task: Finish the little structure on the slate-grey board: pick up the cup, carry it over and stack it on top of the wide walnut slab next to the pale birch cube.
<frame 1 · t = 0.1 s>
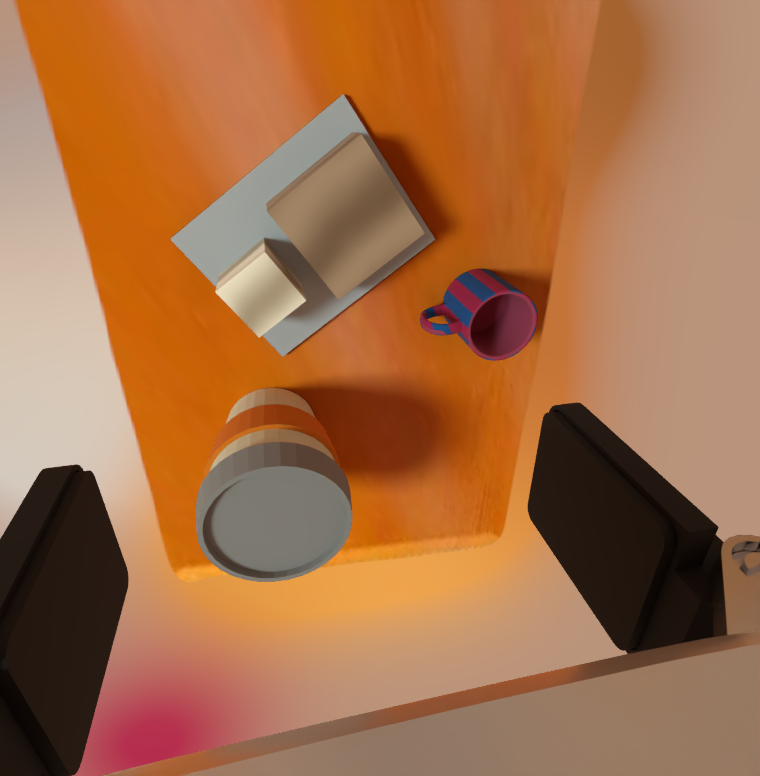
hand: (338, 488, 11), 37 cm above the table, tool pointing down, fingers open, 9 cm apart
cup: (458, 300, 51), on the table
reusable coffee cup: (271, 424, 53), on the table
walnut slab: (341, 213, 43), point 1 cm above the table, touching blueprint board
birch cube: (261, 278, 45), point 1 cm above the table, touching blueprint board
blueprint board: (309, 237, 44), on the table
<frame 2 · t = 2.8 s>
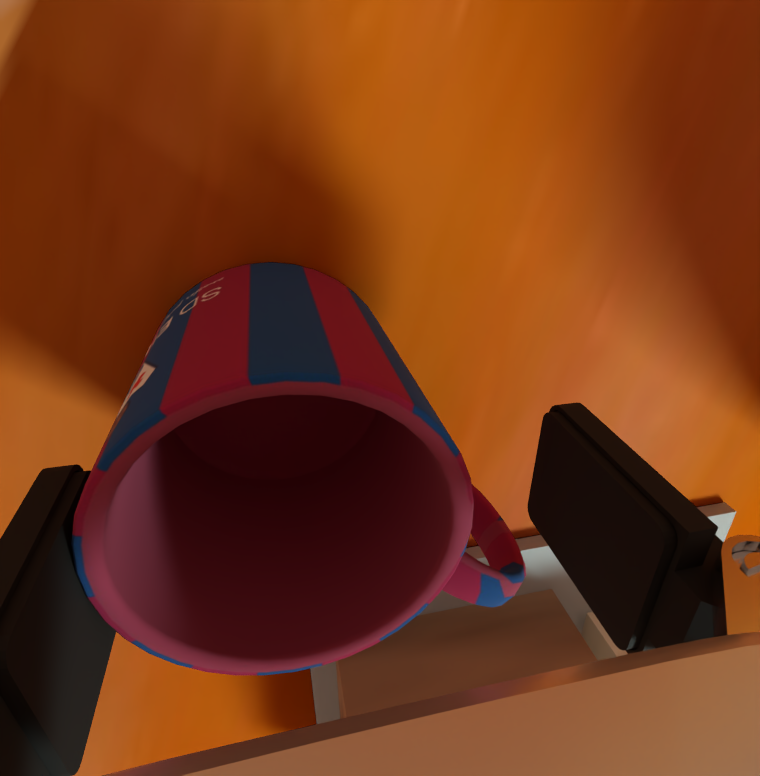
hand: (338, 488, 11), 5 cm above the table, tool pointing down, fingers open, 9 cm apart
cup: (320, 402, 15), on the table
walnut slab: (441, 680, 22), point 1 cm above the table, touching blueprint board
birch cube: (625, 639, 24), point 1 cm above the table, touching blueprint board
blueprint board: (510, 651, 23), on the table
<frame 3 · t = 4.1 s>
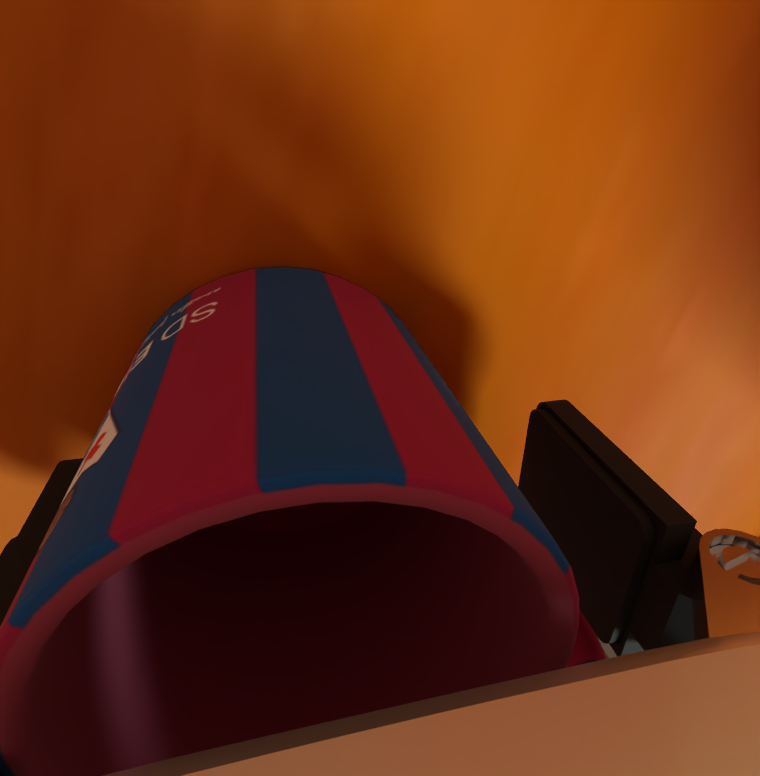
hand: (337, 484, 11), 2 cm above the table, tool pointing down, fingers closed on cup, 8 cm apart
cup: (340, 436, 13), on the table, touching gripper
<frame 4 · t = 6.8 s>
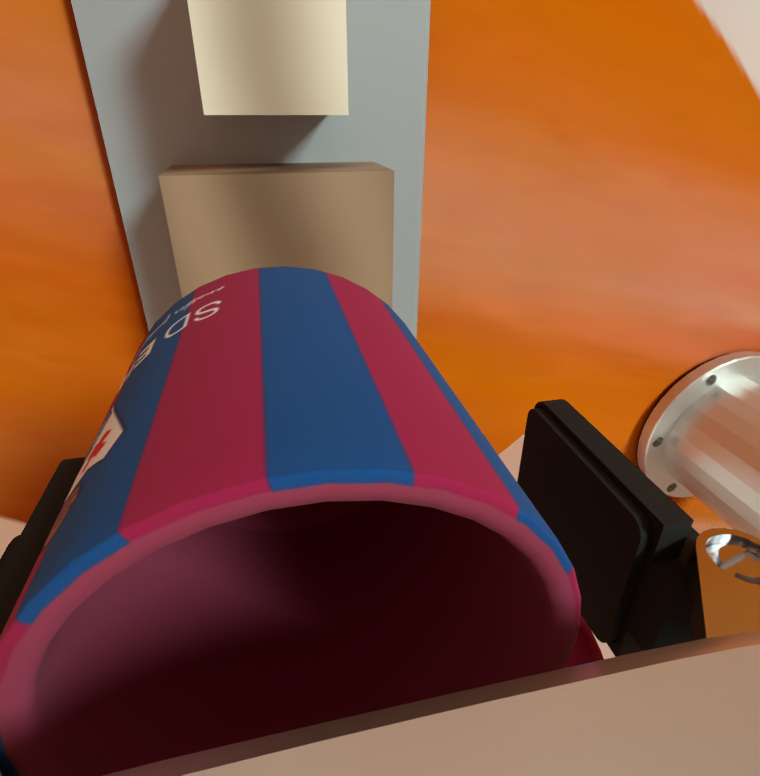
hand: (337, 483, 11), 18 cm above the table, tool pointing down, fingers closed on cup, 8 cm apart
cup: (340, 435, 13), point 16 cm above the table, touching gripper
walnut slab: (285, 261, 25), point 1 cm above the table, touching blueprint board
birch cube: (265, 43, 21), point 1 cm above the table, touching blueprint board
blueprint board: (277, 184, 24), on the table
milk: (517, 511, 39), on the table
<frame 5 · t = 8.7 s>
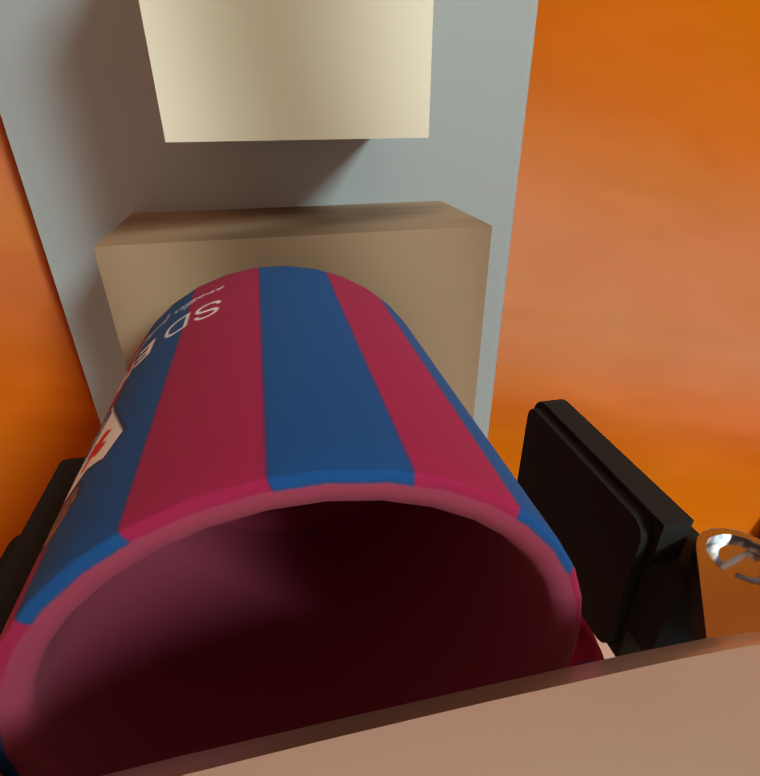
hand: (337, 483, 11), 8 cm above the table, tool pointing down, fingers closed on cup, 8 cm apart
cup: (340, 435, 13), point 6 cm above the table, touching gripper
walnut slab: (306, 346, 17), point 1 cm above the table, touching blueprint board
birch cube: (279, 19, 13), point 1 cm above the table, touching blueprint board
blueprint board: (296, 236, 16), on the table
when the fingers open (7 cm above the table, at t = 9.9 s): cup drops 1 cm, resting on walnut slab.
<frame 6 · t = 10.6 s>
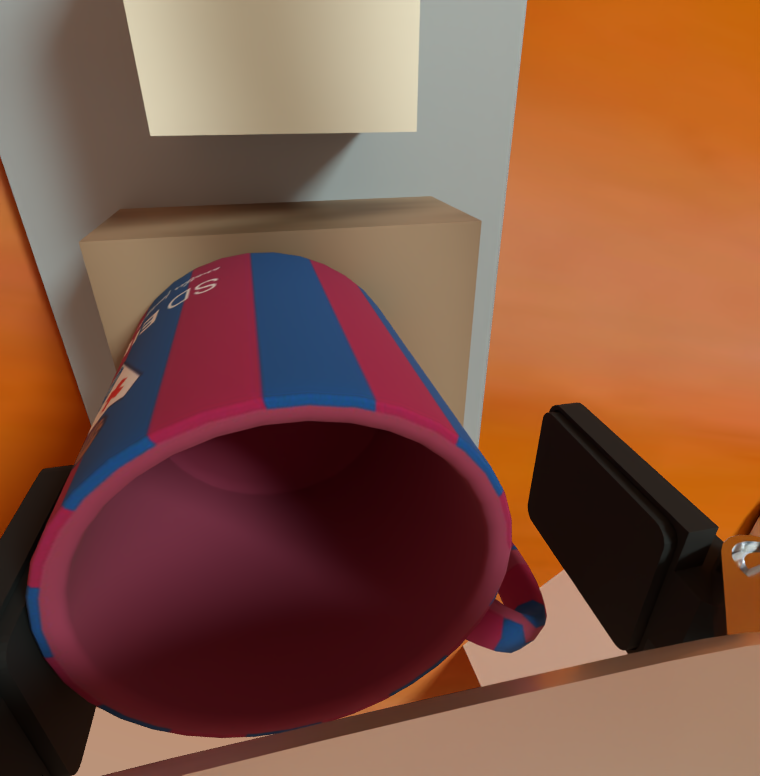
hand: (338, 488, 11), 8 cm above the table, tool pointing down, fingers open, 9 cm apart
cup: (318, 409, 14), point 4 cm above the table, touching gripper, walnut slab
walnut slab: (297, 342, 17), point 1 cm above the table, touching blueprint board, cup
birch cube: (267, 12, 13), point 1 cm above the table, touching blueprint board
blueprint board: (286, 232, 16), on the table
milk: (589, 621, 31), on the table
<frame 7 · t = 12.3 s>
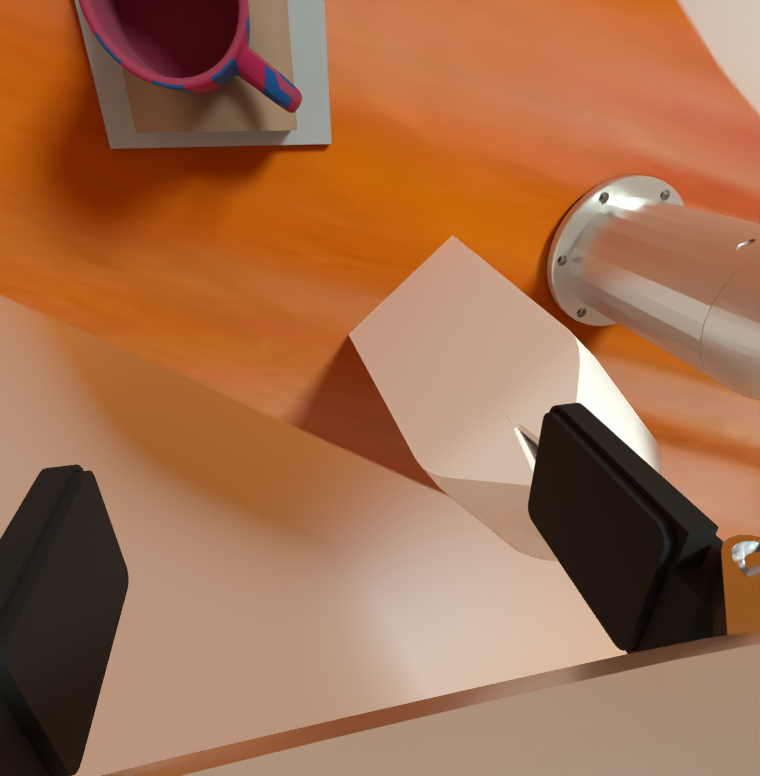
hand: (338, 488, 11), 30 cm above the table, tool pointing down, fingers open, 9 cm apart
cup: (211, 46, 27), point 4 cm above the table, touching walnut slab
walnut slab: (210, 45, 31), point 1 cm above the table, touching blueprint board, cup
milk: (442, 332, 44), on the table
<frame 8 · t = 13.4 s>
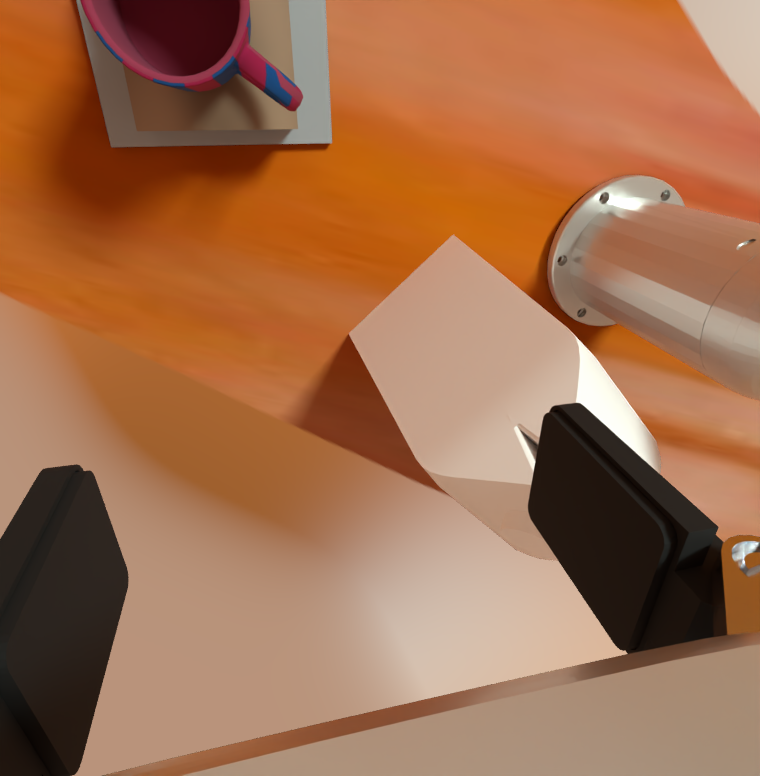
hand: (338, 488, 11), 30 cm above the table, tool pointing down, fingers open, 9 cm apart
cup: (212, 44, 28), point 4 cm above the table, touching walnut slab
walnut slab: (211, 44, 31), point 1 cm above the table, touching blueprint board, cup
milk: (442, 331, 44), on the table
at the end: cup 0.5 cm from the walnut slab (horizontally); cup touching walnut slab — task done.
